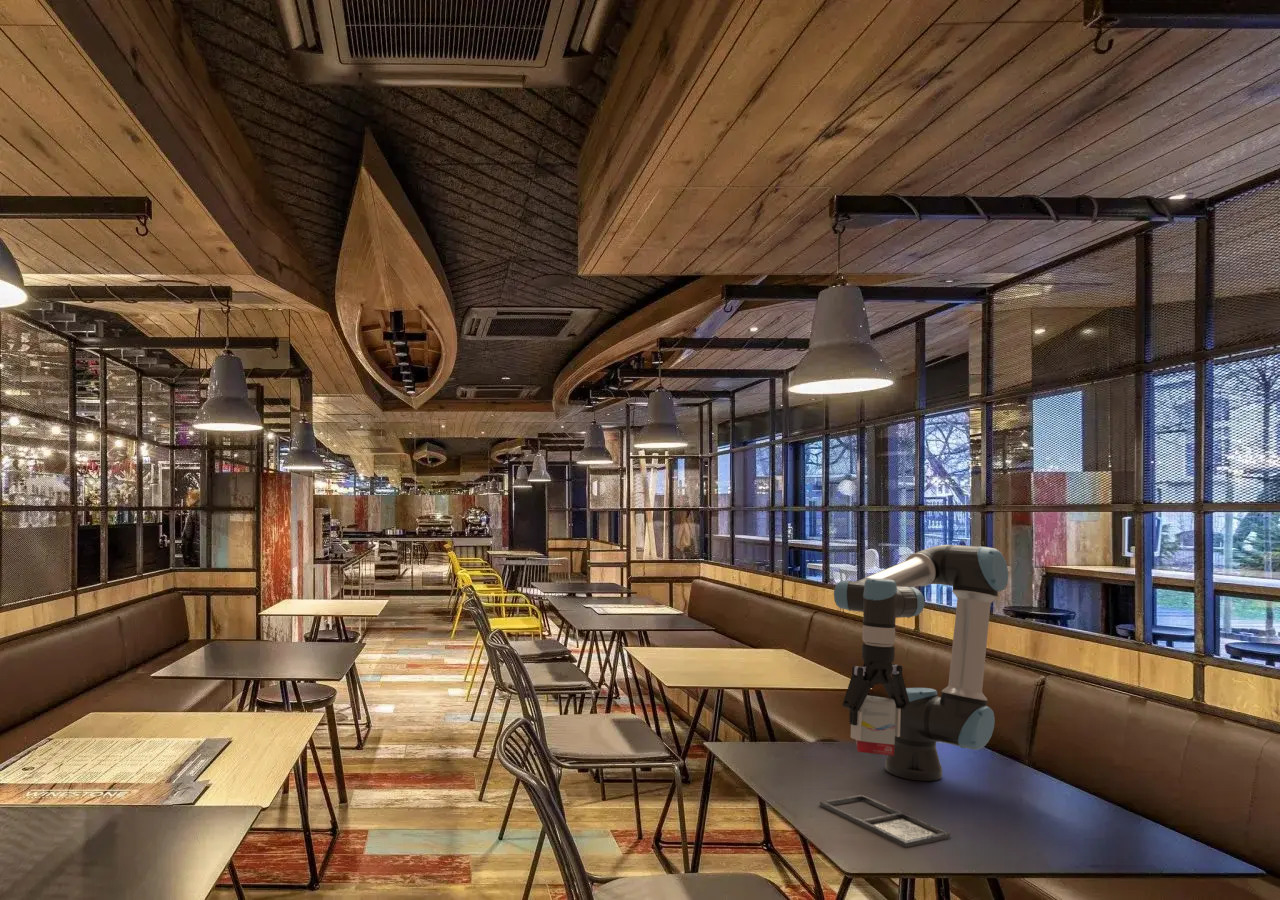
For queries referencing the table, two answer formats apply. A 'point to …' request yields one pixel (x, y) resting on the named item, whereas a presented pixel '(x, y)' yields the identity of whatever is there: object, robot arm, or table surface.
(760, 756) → the table surface
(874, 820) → the grey flat rectangular frame
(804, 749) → the table surface
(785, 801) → the table surface
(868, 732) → the ink box
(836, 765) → the table surface
